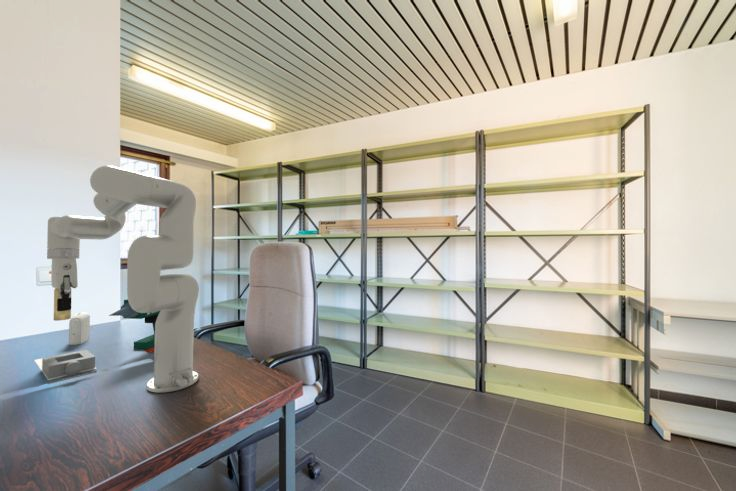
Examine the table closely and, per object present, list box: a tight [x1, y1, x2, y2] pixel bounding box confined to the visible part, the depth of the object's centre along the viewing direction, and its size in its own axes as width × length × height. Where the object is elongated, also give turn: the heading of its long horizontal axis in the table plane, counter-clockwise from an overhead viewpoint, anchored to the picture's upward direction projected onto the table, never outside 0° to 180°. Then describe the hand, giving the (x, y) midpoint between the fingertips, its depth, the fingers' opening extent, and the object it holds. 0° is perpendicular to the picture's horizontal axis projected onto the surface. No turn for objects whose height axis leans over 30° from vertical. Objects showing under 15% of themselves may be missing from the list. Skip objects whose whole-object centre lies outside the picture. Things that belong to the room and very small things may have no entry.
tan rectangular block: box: [53, 288, 72, 321], centre depth 99 cm, size 4×4×10 cm
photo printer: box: [68, 311, 91, 346], centre depth 118 cm, size 10×4×12 cm, turn 28°
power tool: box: [108, 298, 161, 354], centre depth 113 cm, size 32×7×20 cm, turn 179°
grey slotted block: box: [33, 349, 97, 385], centre depth 95 cm, size 25×10×5 cm, turn 54°
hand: (62, 309), depth 99 cm, fingers closed on tan rectangular block, 4 cm apart
